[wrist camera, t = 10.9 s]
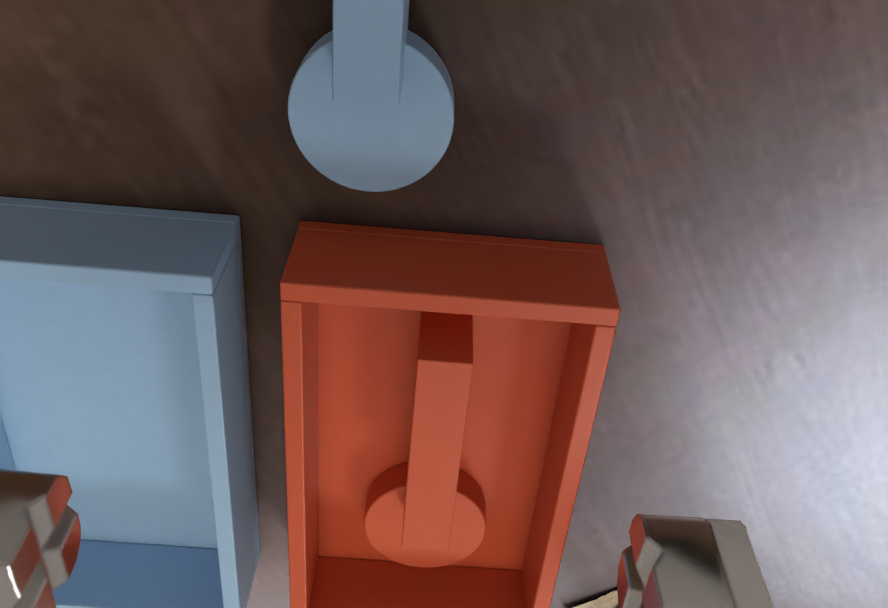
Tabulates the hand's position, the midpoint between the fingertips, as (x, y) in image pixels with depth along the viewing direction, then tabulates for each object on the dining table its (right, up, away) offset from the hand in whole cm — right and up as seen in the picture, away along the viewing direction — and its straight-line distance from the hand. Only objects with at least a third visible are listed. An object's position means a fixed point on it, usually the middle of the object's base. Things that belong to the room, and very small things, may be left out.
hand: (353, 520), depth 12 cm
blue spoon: (0, +12, +9) cm, 15 cm away
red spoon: (+1, -1, +17) cm, 17 cm away
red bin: (+1, -1, +18) cm, 18 cm away
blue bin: (-10, 0, +17) cm, 20 cm away
